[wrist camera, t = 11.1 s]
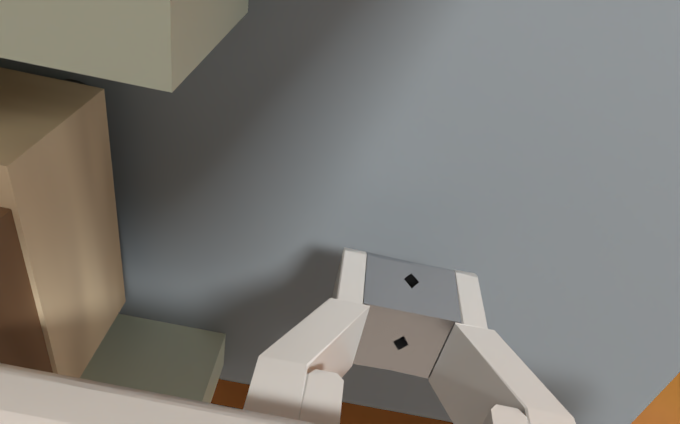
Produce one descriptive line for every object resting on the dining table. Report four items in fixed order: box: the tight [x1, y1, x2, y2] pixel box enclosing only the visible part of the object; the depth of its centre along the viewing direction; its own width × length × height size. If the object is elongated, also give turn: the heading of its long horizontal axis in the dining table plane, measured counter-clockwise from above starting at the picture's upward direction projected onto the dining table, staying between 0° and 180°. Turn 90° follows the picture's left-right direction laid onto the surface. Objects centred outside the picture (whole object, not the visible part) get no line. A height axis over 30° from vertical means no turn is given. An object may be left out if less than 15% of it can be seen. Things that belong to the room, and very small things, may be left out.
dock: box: [0, 0, 680, 424], centre depth 11 cm, size 24×14×5 cm, turn 80°
